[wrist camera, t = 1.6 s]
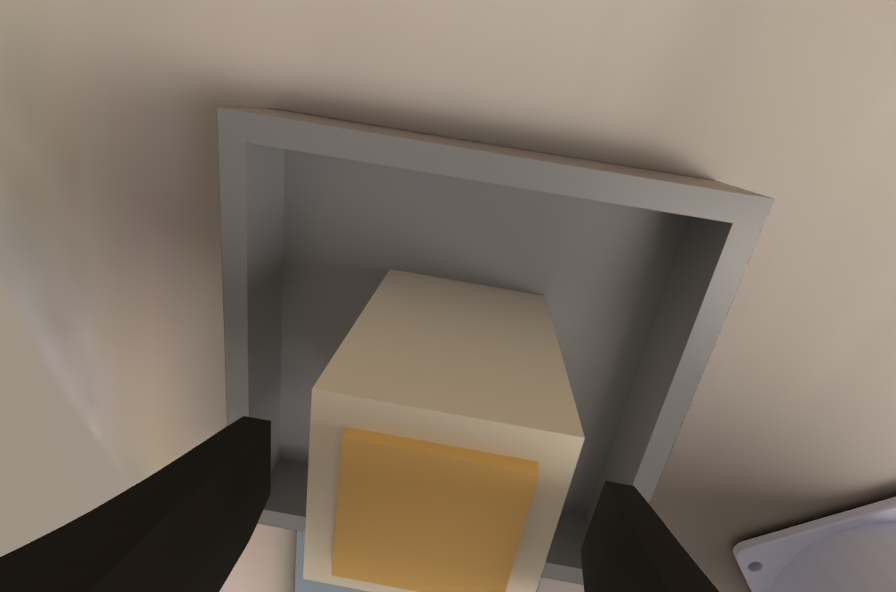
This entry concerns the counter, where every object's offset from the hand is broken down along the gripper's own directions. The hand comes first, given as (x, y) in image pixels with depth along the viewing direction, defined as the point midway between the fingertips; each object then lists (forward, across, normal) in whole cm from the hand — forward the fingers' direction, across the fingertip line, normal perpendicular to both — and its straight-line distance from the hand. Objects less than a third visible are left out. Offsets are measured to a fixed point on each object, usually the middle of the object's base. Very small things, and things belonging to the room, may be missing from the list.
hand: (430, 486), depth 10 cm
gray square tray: (+7, 0, 0) cm, 7 cm away
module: (+6, 0, 0) cm, 6 cm away
